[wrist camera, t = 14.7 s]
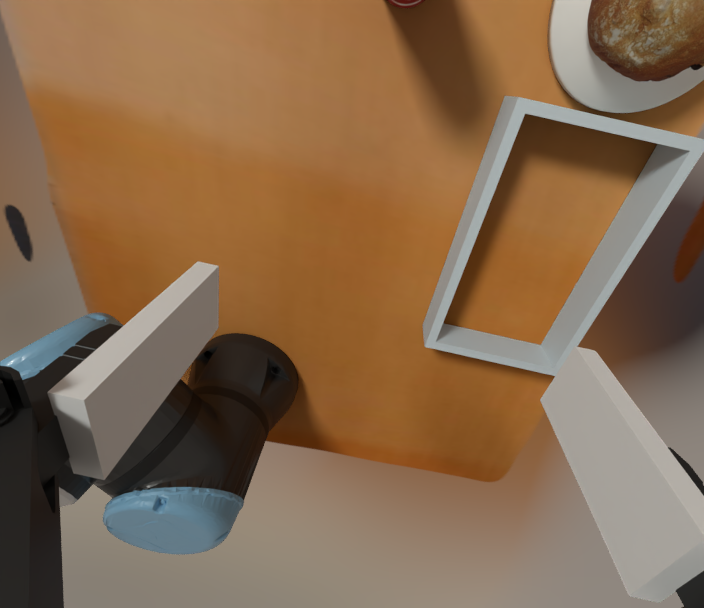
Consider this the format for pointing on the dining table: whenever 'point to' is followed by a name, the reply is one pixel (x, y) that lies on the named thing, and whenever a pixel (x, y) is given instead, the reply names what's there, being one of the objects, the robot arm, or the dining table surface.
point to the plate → (602, 67)
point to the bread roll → (648, 36)
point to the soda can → (405, 3)
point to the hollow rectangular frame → (603, 268)
